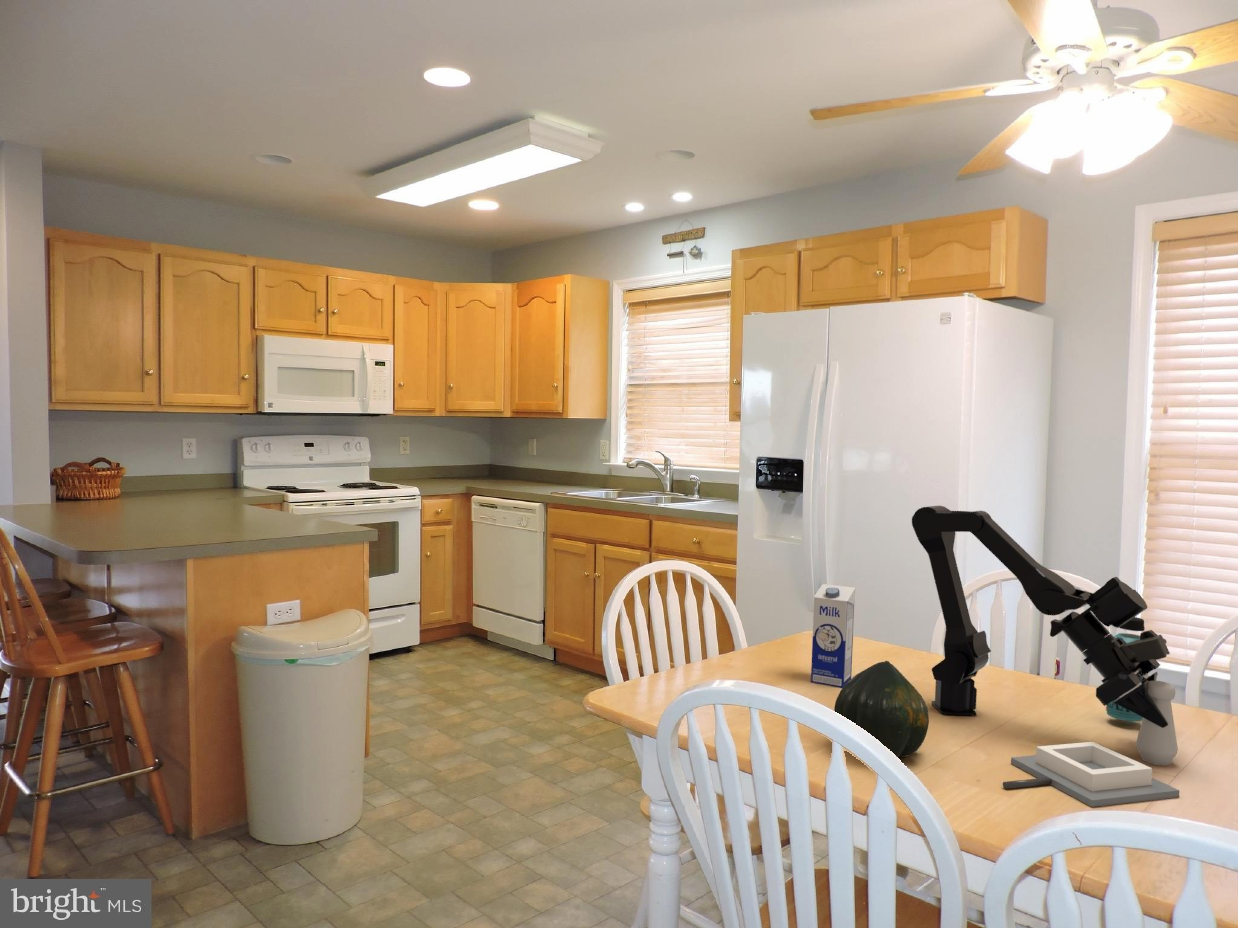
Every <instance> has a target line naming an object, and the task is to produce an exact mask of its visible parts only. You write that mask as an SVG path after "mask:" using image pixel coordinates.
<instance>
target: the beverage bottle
mask: <svg viewBox="0 0 1238 928" xmlns="http://www.w3.org/2000/svg"><path fill="white" fill-rule="evenodd" d="M1118 629H1122V630H1125V631H1132V632H1144V631H1145V620H1144V618H1141V617H1137V616H1135V617H1134V618H1132V619H1131V620H1129V621H1128V622H1126V623H1125V624H1124V625H1122V626H1121V627H1119V628H1118ZM1113 636H1114V638H1117V637H1119V638H1120V637H1121V638H1122V639H1123V640H1124V641H1125V642H1126V643H1129V642H1133V641H1135V640H1140V634H1134V633H1125V632H1123V633H1122V632H1121V633H1120V632H1119V633H1117V634H1115V635H1113ZM1147 674H1148V675H1149V673H1147ZM1118 698H1120V697H1118ZM1118 698H1117V699H1118ZM1117 699H1115V700H1117ZM1115 700H1113V701H1112V702H1110V703H1109V704H1107V705H1105V711H1106V714H1107V715H1108V716H1109V717H1110V718H1113V719H1117V720H1120V721H1124V722H1134V723H1137V722H1138V723H1140V722H1142V719H1143V717H1141V716H1139V715H1137V714H1135V713H1133V712H1131V711H1129V710H1127V709H1125V708H1123V707H1121V706H1119V705H1115V704H1114V703H1113V702H1114V701H1115Z"/></svg>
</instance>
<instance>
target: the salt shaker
mask: <svg viewBox="0 0 1238 928" xmlns="http://www.w3.org/2000/svg"><path fill="white" fill-rule="evenodd" d="M1148 694H1149V696H1150V697H1151V699H1152V700H1153V702H1154V703H1155V705H1156V706H1157V707H1158V709H1159V710H1160V712H1161V713H1162V715H1163V716H1164V718H1165V719H1166V721H1167V722H1168V725H1167V726H1166V727H1164V728H1162V727H1160V726H1158V725H1156V724H1154V723H1152V722H1150V721H1149V720H1147V719H1145V718H1143V719H1142V721H1141V723H1140V727H1139V731H1138V735H1137V739H1136V742H1135V745H1136V748H1137V750H1138V753H1139V754H1140V757H1141V758H1142V761H1143V762H1147V764H1151V765H1155V766H1163V767H1164V766H1165V767H1167V766H1169V765H1170V764H1172V762H1173V760H1174V758H1175V757H1176V756H1177V754H1178V751H1179V749H1178V748H1179V747H1178V741H1177V736H1176V727H1175V726H1176V725H1175V719H1174V715H1173V707H1172V700H1174V699H1175V697H1176V694H1177V693H1176V687H1175V686H1174V685H1173V684H1171V683H1169V682H1165V681H1160V680H1156V681H1148Z"/></svg>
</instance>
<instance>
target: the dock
mask: <svg viewBox="0 0 1238 928" xmlns="http://www.w3.org/2000/svg"><path fill="white" fill-rule="evenodd" d="M1035 750H1036V751H1035V753H1036V754H1034V755H1033V754H1032V755H1023V756H1013V757H1012V756H1011V758H1010V764H1011V765H1013V766H1015V767H1016V768H1019V769H1020V770H1022V771H1024V772H1026V773H1028V774H1030V775H1031V776H1032V777H1035V778H1029V779H1020V780H1019V779H1017V780H1012V781H1011V780H1010V781H1008V780H1007V781H1003V782H1002V787H1003V789H1004V788H1005V790H1007V789H1009V790H1010V789H1017V788H1018V789H1019V788H1028V787H1038V786H1047V785H1050V786H1052V787H1054V788H1056V789H1057V790H1059V791H1061V792H1063V793H1064V794H1066V795H1069V796H1070V797H1072V798H1074V799H1075V800H1077V801H1079V802H1082V803H1083V804H1085V805H1086V806H1089V807H1090V808H1096V807H1105V806H1113V805H1120V804H1121V805H1122V804H1131V803H1139V802H1148V801H1156V800H1157V801H1158V800H1163V799H1164V800H1166V799H1173V798H1180V790H1179V789H1177V788H1175V787H1174V786H1171V785H1169V784H1167V783H1164V782H1162V781H1160V780H1158V779H1156V778H1153V768H1152V767H1151V766H1150V767H1149V766H1148V765H1145V764H1144V763H1141V762H1140V761H1137V760H1135V759H1133V758H1130V757H1127V756H1126V755H1123V754H1121V753H1119V752H1117V751H1114V750H1112V749H1109V748H1107V747H1105V746H1103V745H1101V744H1098V743H1097V742H1094V741H1087V742H1086V741H1085V742H1074V743H1073V742H1071V743H1065V744H1064V743H1063V744H1061V743H1060V744H1053V745H1052V744H1051V745H1050V744H1049V745H1041V746H1036V748H1035Z"/></svg>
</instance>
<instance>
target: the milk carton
mask: <svg viewBox="0 0 1238 928" xmlns="http://www.w3.org/2000/svg"><path fill="white" fill-rule="evenodd" d="M855 594H856V587H852V586H843V585H838V584H837V585H835V584H834V585H833V584H828V583H827V584H826V583H822V585H821V586H820V587H819V588H818V590H817V591H816V592H815V594H814V596H813V598H814V599H813V617H812V618H813V619H812V641H811V642H812V648H811V667H810V668H811V669H810V673H811V674H810V683H812V682H813V684H819V685H823V686H824V685H825V686H829V685H830V686H831V687H835V688H841V689H842V688H843V687H844V686H845V684H846V683H847V682H848V681H849V680H851V679H852V672H853V671H852V666H853V645H854V644H853V643H854V642H853V641H854V624H855V623H854V622H855V620H854V619H855V602H856V601H855V596H856V595H855Z"/></svg>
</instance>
